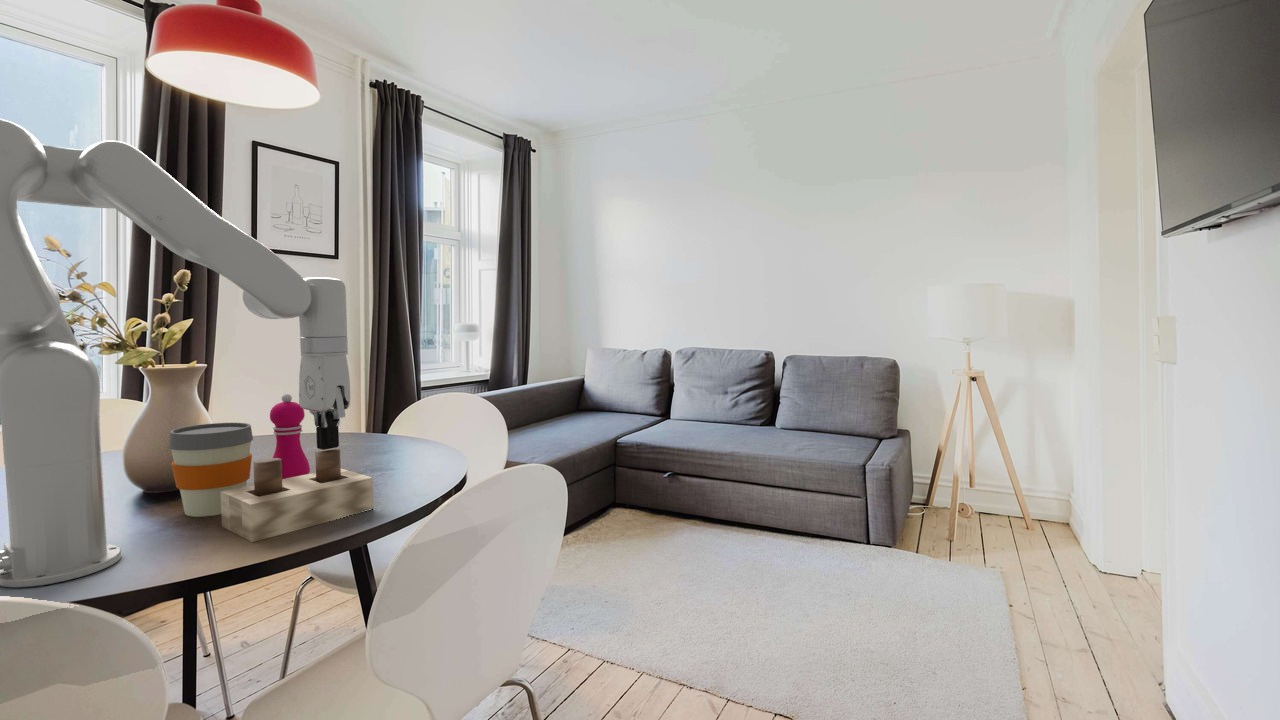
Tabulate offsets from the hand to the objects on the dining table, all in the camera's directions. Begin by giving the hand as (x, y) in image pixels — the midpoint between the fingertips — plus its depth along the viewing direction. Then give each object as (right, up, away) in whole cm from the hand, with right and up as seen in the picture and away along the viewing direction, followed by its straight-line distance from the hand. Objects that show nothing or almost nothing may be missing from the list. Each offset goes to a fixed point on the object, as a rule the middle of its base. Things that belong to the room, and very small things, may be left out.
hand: (328, 447), depth 108 cm
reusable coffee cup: (-22, -12, +2) cm, 25 cm away
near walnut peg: (-6, -7, -8) cm, 12 cm away
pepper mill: (-14, -11, +12) cm, 22 cm away
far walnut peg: (0, -7, 0) cm, 7 cm away
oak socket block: (-3, -12, -3) cm, 13 cm away
